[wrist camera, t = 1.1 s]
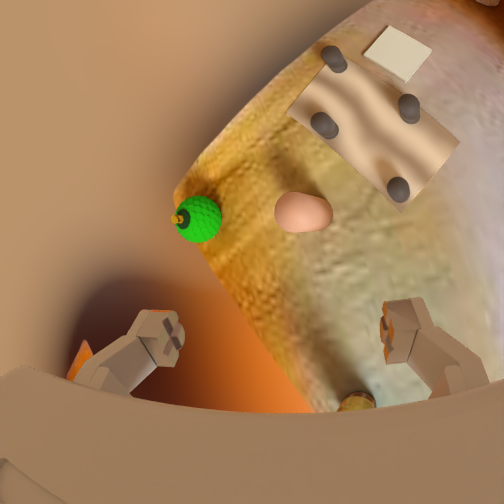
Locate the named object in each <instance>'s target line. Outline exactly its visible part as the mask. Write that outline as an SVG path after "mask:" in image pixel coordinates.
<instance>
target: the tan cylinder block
mask: <svg viewBox="0 0 504 504" xmlns="http://www.w3.org/2000/svg"><path fill="white" fill-rule="evenodd" d="M274 213H275V219H276V221H277V223H278V225H279V226H280V227H281V228H282V229H284V230H285V231H288V232H306V231H320V230H323V229H325V228H327V227H328V226H329V224H330V223H331V221H332V218H333V210H332V207H331V205H330V204H329V203H328V202H327V201H326V200H325V199H323V198H319V197H316V196H312V195H308V194H304V193H300V192H295V191H292V192H287V193H285V194H283V195H282V196H281V197H280V198H279V199H278V201H277V203H276V205H275V212H274Z"/></svg>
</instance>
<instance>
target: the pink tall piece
mask: <svg viewBox="0 0 504 504" xmlns="http://www.w3.org/2000/svg"><path fill="white" fill-rule="evenodd" d="M475 1H477V2H479V3H481V4H484V5H486V6H497V5H498V3H499V2H500V0H475Z"/></svg>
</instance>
